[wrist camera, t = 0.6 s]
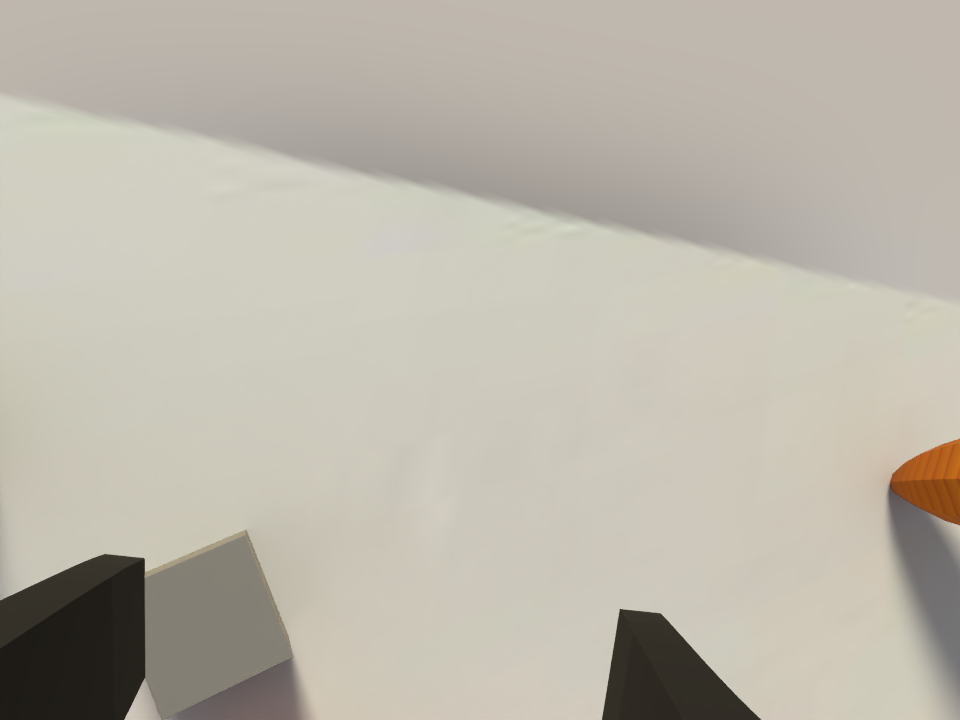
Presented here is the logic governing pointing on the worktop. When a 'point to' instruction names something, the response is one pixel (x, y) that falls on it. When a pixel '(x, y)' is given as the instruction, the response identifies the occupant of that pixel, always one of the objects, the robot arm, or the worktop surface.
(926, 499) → the carrot
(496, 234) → the worktop surface
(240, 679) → the gray cube
